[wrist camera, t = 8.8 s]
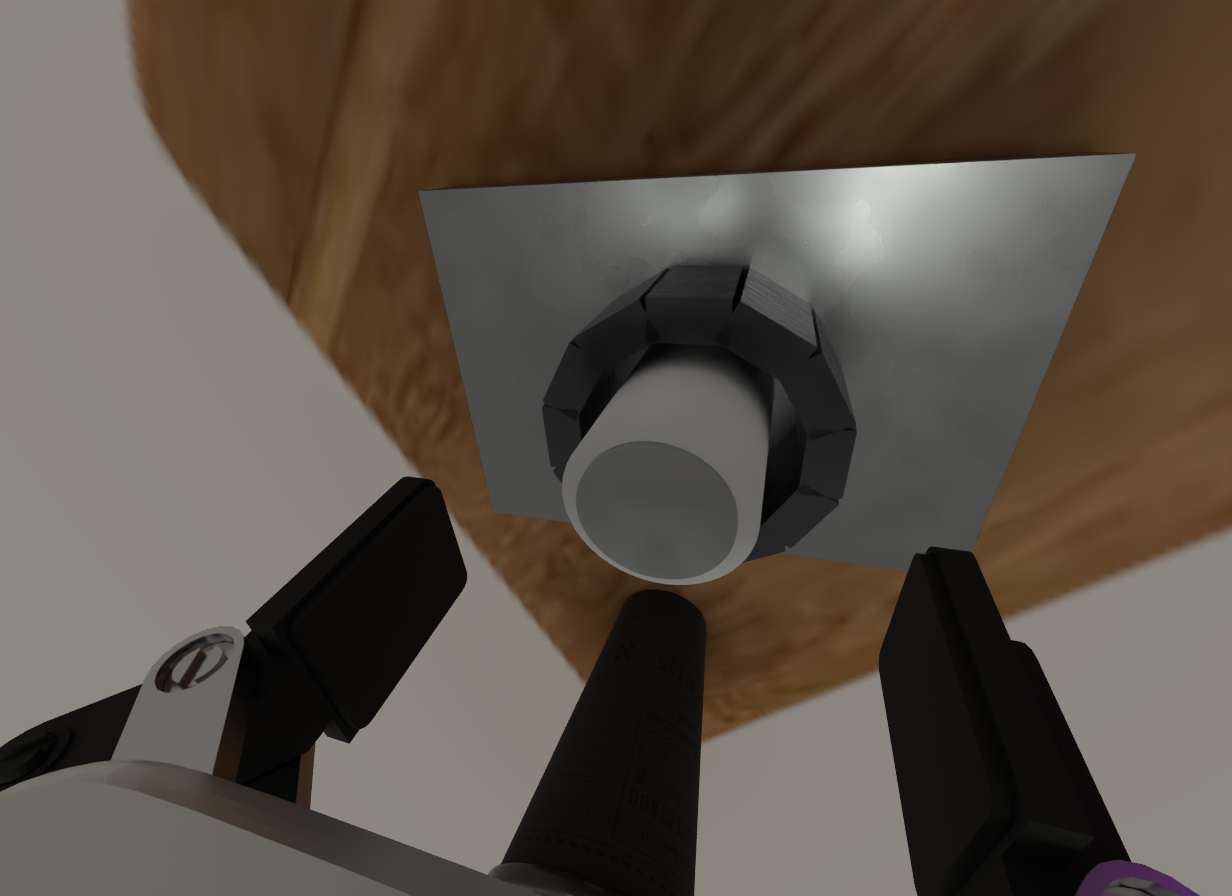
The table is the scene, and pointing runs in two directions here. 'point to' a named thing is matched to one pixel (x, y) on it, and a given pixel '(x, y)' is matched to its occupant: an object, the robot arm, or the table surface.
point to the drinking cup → (623, 767)
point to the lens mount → (783, 325)
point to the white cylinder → (675, 466)
